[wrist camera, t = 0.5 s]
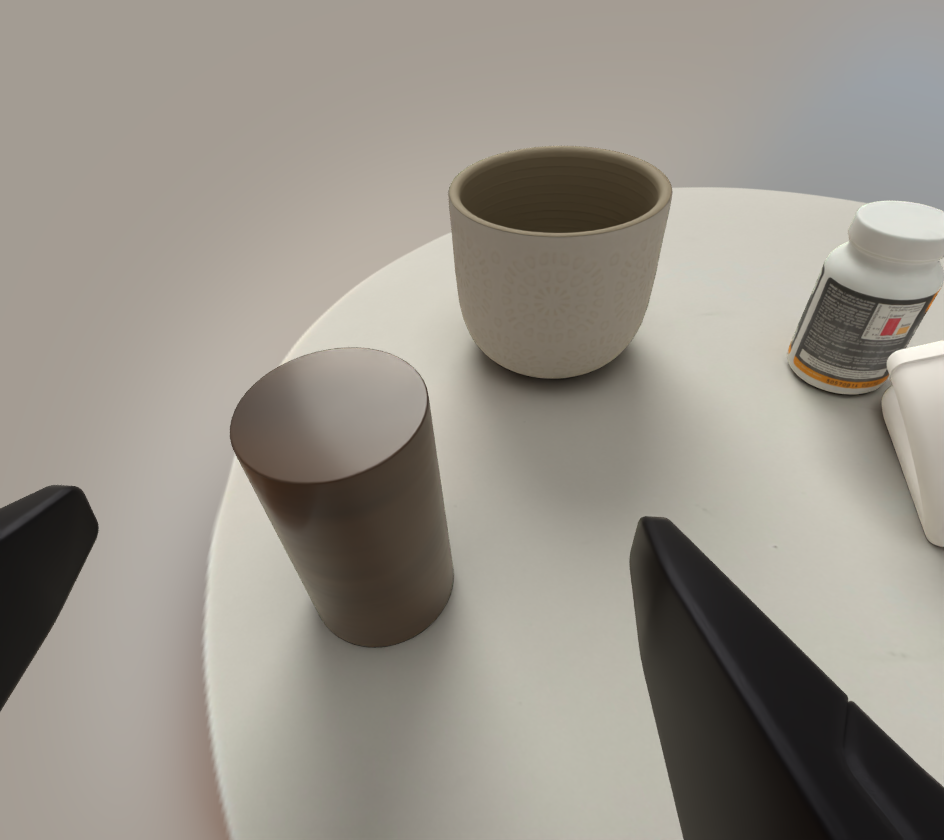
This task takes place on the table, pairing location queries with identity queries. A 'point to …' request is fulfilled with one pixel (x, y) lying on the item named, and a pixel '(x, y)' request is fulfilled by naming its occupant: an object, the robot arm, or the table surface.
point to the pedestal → (352, 488)
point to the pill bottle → (870, 297)
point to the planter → (556, 254)
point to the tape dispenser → (919, 429)
